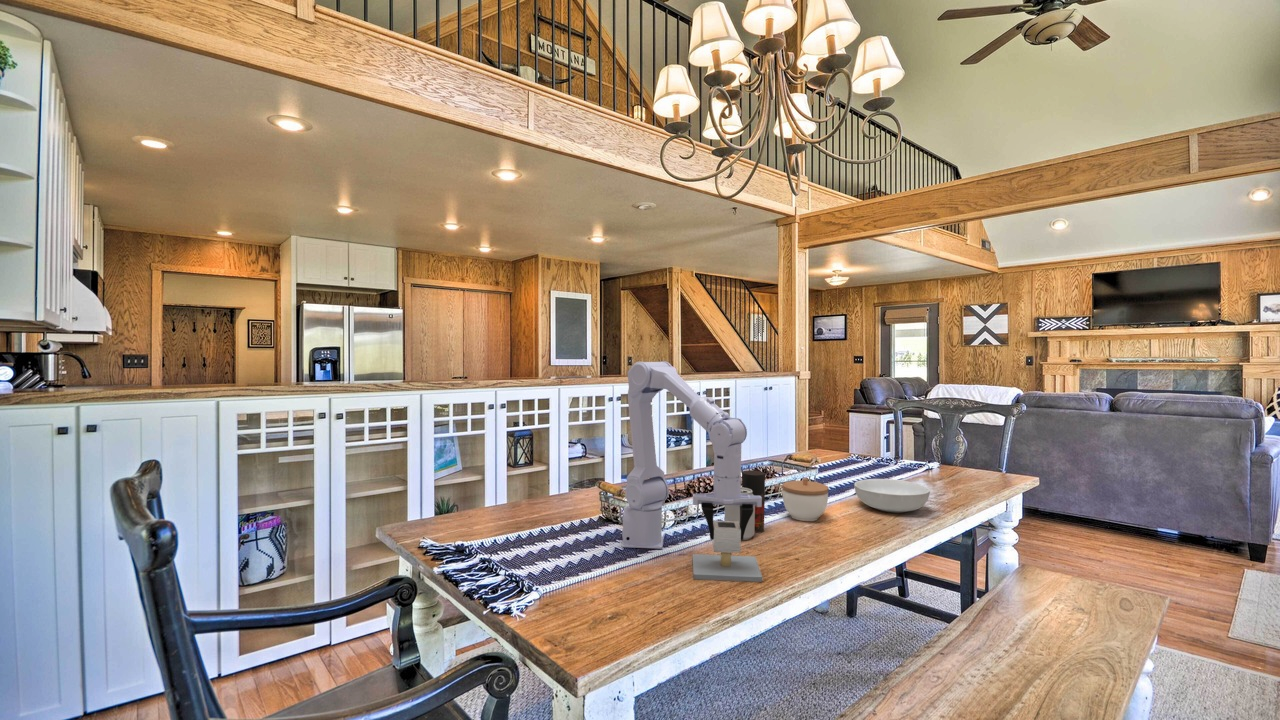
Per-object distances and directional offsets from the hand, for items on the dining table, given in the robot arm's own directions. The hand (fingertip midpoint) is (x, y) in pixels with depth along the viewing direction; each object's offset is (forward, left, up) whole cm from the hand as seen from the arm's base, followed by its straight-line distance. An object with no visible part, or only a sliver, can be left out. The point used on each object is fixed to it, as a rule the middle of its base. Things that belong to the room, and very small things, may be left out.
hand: (726, 538), depth 128 cm
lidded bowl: (+25, +42, -7) cm, 49 cm away
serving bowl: (+53, +55, -7) cm, 77 cm away
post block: (0, 0, -7) cm, 7 cm away
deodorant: (+9, +29, -7) cm, 31 cm away
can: (+5, +23, -7) cm, 25 cm away
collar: (0, 0, -2) cm, 2 cm away
